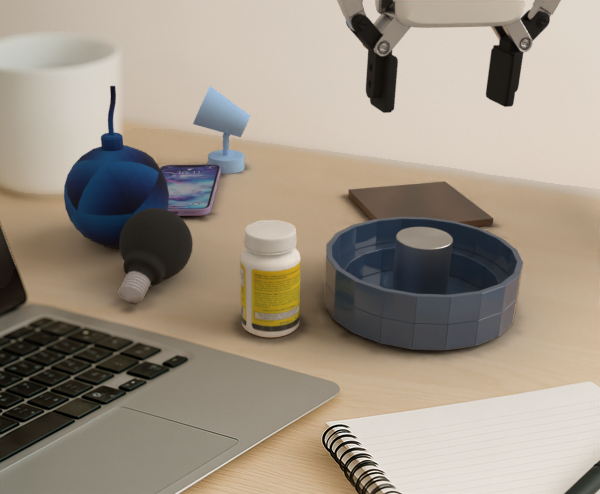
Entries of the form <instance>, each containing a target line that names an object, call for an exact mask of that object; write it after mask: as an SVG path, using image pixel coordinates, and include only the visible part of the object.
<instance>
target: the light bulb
mask: <svg viewBox="0 0 600 494" xmlns="http://www.w3.org/2000/svg"><path fill="white" fill-rule="evenodd" d="M119 246H120V248H119V252H120V256H121V258H122V261H123V264H122V267H123V271H124V273H125V276H124V279H123V281H122V283H121V285H120V286H119V289H118V295H119V297H120V298H121V299H122V300H123V301H125V302H128V303H131V304H139V303H141V302H142V301H144V298H145V297H146V294H147V293H148V290H149V288H150V287H153V286H156V285H158V284H160V283H161V282H162V280H168V279H170V278H172V277H174V276H175V275H178V274H179V273H180V272H181V271H183V270H184V268H185V267H186V266H187V264H188V263H189V261H190V259H191V256H192V252H193V236H192V233H191V231H190V228H189V226H188V225H187V223H186V221H184V219H183V218H182V217H181V216H178V215H177V214H175V213H173V212H172V211H169V210H166V209H162V208H149V209H145V210H142V211H140V212H138V213H136V214H135V215H133V216H132V217H131V218H130V219H129V220H128V221H127V222H126V224H125V225H124V227H123V229H122V231H121V235H120V241H119Z"/></svg>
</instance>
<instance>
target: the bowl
mask: <svg viewBox="0 0 600 494" xmlns="http://www.w3.org/2000/svg"><path fill="white" fill-rule="evenodd" d="M411 227H429V228H435V229H439V230H442V231H444V232H446V233H448V234H449V235H450V236H451V237H452V239H453V243H452V252H451V261H450V270H449V279H448V288H447V295H441V294H415V293H409V292H404V291H398V290H392V285H393V272H394V259H395V246H396V235H397V233H398V232H399V231H401V230H403V229H406V228H411ZM523 268H524V260H523V259H522V257H521V255H520V253H519V250H518V249H517V248H516V247H515V246H513V244H511V243H510V242H508V241H507V240H506V239H505V238H503V237H501V236H500V235H497V234H495V233H492V232H491V231H488V230H485V229H484V228H481V227H474V226H471V225H467V224H463V223H460V222H455V221H449V220H442V219H435V218H428V217H393V218H382V219H373V220H371V219H369V220H366V221H361V222H358V223H353V224H351V225H349V226H347V227H345V228H343V229H341V230H339V231H338V232H336V233H335V234H334V235H333V236H331V238H330V239H329V241H327V243H326V244H325V273H324V274H325V275H324V307H325V309H326V311H328V314H329V315H330V316H331V318H332V319H333V320H334V322H336V323H338V324H339V325H341V326H342V327H344V328H345V329H346V330H348V331H349V332H351V333H352V334H355V335H356V336H359V337H362V338H365V339H368V340H370V341H373V342H375V343H377V344H382V345H387V346H392V347H396V348H402V349H407V350H418V351H419V350H421V351H422V350H423V351H450V350H456V349H464V348H473V347H477V346H479V345H482V344H484V343H487V342H490V341H492V340H494V339H498V338H499V337H500V336H502V335H503V334H504V333H505V332H507V330H508V329H510V327H512V325H513V323H514V319H515V316H516V313H517V307H518V306H517V305H518V299H519V295H520V287H521V279H522V274H523Z"/></svg>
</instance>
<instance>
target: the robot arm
mask: <svg viewBox="0 0 600 494" xmlns="http://www.w3.org/2000/svg"><path fill="white" fill-rule="evenodd" d="M336 1H337V4H338V6H339V8H340V11H341V13H342V15H343V16H344V19H345V24H346V26H347V28H348V29H349V30H350V31H351V33H353V35H354V36H355V37H356V38H357V39H358V40H359V41H360V43H361V44H362V46H363V48H365V49H366V50H367V61H366V77H365V78H366V79H365V94H366V98H368V99H369V102H370V105H371V106H373V107H374V108H376V109H377V110H379V111H380V112H382V113H383V114H387V113H388V114H389V113H392V112H393V111H394V110H395V104H396V89H397V78H398V66H399V59H398V57H397V56H396V55H393V50H394V48H395V47H396V46H397V45H398V44H399V42H400V41H401V40H402V38H403V37H404V36H405V34H407V32H408V31H410V29H411V28H416V29H417V28H419V29H421V28H422V29H425V28H426V29H431V28H433V29H435V28H439V29H440V28H481V27H482V28H485V27H490V28H491V29H492V31H493V33H494V34H495V36H496V38H497V40H498V41H499V42H498V44H494V45H493V47H492V48H491V51H490V56H489V57H490V58H489V65H488V72H487V73H488V75H487V80H486V81H487V82H486V87H485V88H486V89H485V97H486V98H487V99H488V100H489V101H492V102H494V103H496V104H497V105H500V106H502V107H504V108H509V107H513V106H514V101H515V95H516V93H517V91H518V89H519V87H520V80H521V71H522V65H523V60H524V59H523V58H524V53H527V52H529V51H530V49H531V48H532V46H533V41H534V40H536V38H537V37H538V36H539V35H540V34H541V33H542V32H543V31H544V30H545V29H546V28H548V26H549V25H550V20H551V19H550V18H551V16H553V14H554V13H555V11H556V10H557V8H558V6H559V5H560V3H561V1H562V0H534V1H533V3H532V7H531V9H528V10H527V11H526V12H525V13H524V10H525V6H526V3H527V0H374V7H375V9H376V12H377V13H378V14H379V16H378V17H377V19H376V20H375V21H374V22H373V21H371V19H370V18H369V17H368V16H367V15H366V11H365V8H364V5H363V4H364V3H363V2H364V0H336Z"/></svg>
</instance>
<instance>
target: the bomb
mask: <svg viewBox="0 0 600 494" xmlns="http://www.w3.org/2000/svg"><path fill="white" fill-rule="evenodd" d="M109 91H110V92H109V93H110V98H109V99H110V100H109V108H108V113H107V129H108V130H107V132H105V133H103V134H102V135H100V145H101V146H98V147H95V148H92V149H91V150H89V151H87V152H86V153H84V154H83V155H81V156H80V157H79V158H78V159H77V160H76V161H75V162H74V163H73V165H72V167H71V168H70V170H69V171H68V173H67V176H66V178H65V183H64V187H63V188H64V189H63V191H64V192H63V198H64V199H63V201H64V206H65V211H66V214H67V216H68V218H69V221H70V222H71V223H72V225H73V227H74V228H75V229H76V230H77V231H78V232H79V233H80V234H81V235H82V236H83V237H84V238H86V239H88V240H89V241H91V242H93V243H95V244H97V245H100V246H102V247H105V248H113V249H120V246H119V241H120V235H121V231H122V229H123V227H124V225H125V224H126V222H127V221H128V220H129V219H130V218H131V217H132V216H133V215H135V214H136V213H138V212H140V211H142V210H145V209H149V208H162V209H166V210H168V204H169V191H168V186H167V182H166V179H165V177H164V174H163V172H162V171H161V169H160V167H159V164H158V163H157V162H156V160H155V159H154V157H153V156H151V155H149V154H148V153H147V152H146V151H143V150H141V149H139V148H135V147H132V146H129V145H124V137H123V135H122V134H121V133H119V132H115V129H114V114H115V108H116V102H117V91H116V85H110V86H109Z"/></svg>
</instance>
